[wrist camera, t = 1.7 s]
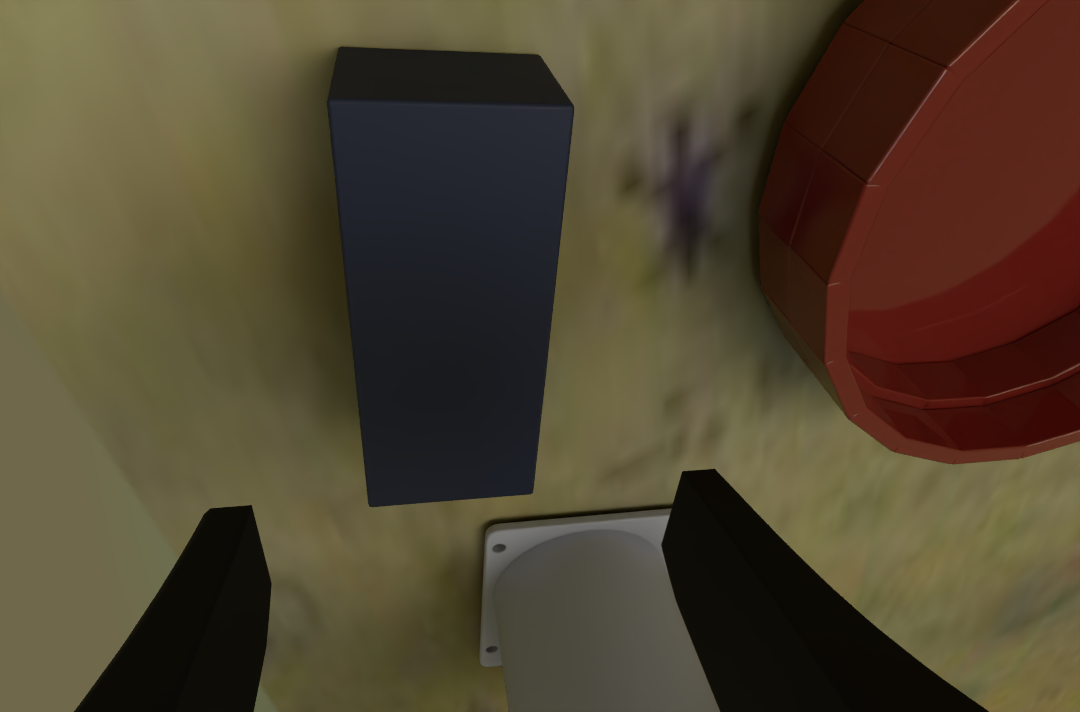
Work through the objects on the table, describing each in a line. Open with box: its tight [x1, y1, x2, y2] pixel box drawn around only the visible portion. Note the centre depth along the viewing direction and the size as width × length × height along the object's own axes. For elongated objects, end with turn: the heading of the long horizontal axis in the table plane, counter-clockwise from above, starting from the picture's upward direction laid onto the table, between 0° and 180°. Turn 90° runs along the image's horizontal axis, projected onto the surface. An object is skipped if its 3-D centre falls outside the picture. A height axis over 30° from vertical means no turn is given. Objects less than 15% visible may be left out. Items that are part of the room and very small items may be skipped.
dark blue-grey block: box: [327, 47, 574, 507], centre depth 18 cm, size 11×5×4 cm, turn 175°
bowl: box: [758, 0, 1080, 464], centre depth 19 cm, size 16×16×4 cm
